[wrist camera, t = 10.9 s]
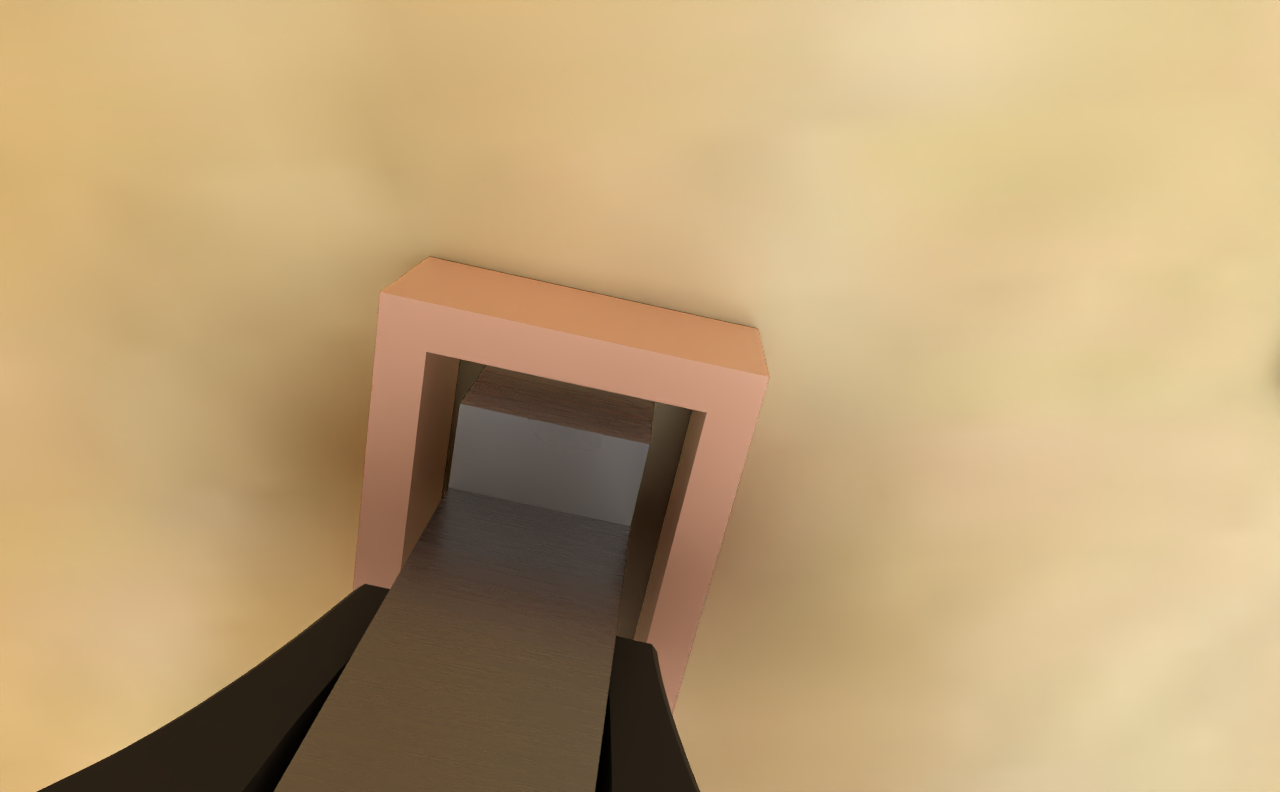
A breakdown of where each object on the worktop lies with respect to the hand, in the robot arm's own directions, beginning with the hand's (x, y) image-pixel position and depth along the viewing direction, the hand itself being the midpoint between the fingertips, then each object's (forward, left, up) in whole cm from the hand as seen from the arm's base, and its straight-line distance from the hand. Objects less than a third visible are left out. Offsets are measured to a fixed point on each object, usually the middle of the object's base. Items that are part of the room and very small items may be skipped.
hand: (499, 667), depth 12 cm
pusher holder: (0, 0, -5) cm, 5 cm away
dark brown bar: (0, 0, -5) cm, 5 cm away
